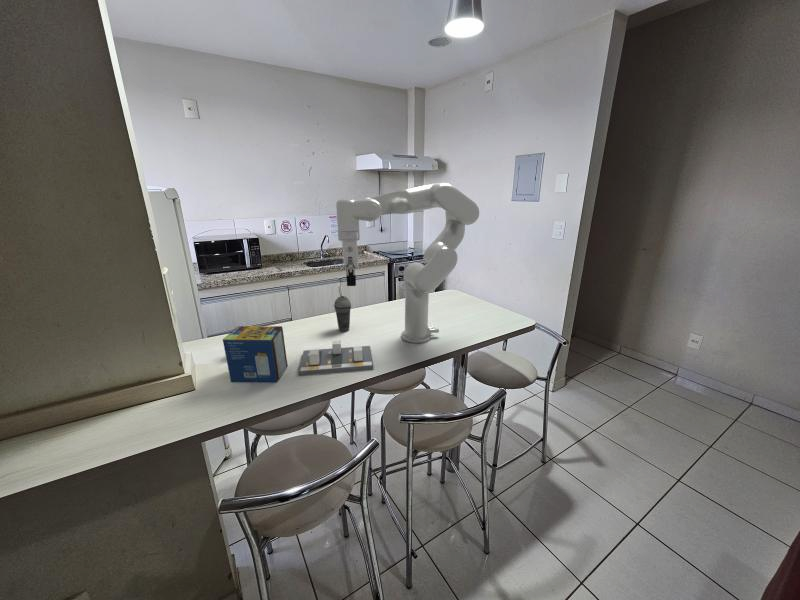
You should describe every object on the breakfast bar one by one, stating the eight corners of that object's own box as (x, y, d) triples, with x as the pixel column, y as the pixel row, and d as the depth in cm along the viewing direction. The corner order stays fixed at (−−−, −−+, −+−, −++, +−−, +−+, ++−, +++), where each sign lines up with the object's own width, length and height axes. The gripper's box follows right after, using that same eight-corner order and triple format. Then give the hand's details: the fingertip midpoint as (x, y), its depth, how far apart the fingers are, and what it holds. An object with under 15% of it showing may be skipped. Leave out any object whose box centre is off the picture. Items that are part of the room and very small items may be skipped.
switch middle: (341, 349, 122) (340, 340, 121) (341, 353, 119) (340, 343, 118) (333, 350, 122) (332, 340, 120) (332, 354, 119) (332, 344, 118)
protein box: (244, 366, 115) (237, 325, 110) (288, 366, 115) (283, 325, 110) (229, 382, 105) (221, 339, 100) (277, 383, 105) (271, 339, 100)
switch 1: (319, 360, 115) (318, 349, 114) (319, 364, 112) (318, 354, 111) (310, 360, 114) (309, 350, 113) (310, 365, 112) (309, 354, 110)
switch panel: (370, 349, 127) (370, 345, 126) (373, 369, 113) (373, 364, 112) (304, 354, 123) (303, 349, 122) (299, 375, 109) (298, 370, 108)
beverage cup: (349, 334, 140) (346, 289, 133) (333, 332, 141) (330, 288, 135) (354, 327, 146) (352, 284, 140) (339, 326, 148) (336, 283, 141)
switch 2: (362, 356, 117) (361, 346, 116) (362, 360, 114) (362, 350, 113) (353, 357, 117) (353, 347, 116) (354, 361, 114) (353, 351, 113)
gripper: (360, 239, 108) (362, 288, 113) (358, 232, 124) (360, 275, 130) (337, 239, 107) (340, 289, 112) (338, 232, 123) (341, 276, 128)
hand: (351, 282), depth 121 cm, fingers open, 9 cm apart
